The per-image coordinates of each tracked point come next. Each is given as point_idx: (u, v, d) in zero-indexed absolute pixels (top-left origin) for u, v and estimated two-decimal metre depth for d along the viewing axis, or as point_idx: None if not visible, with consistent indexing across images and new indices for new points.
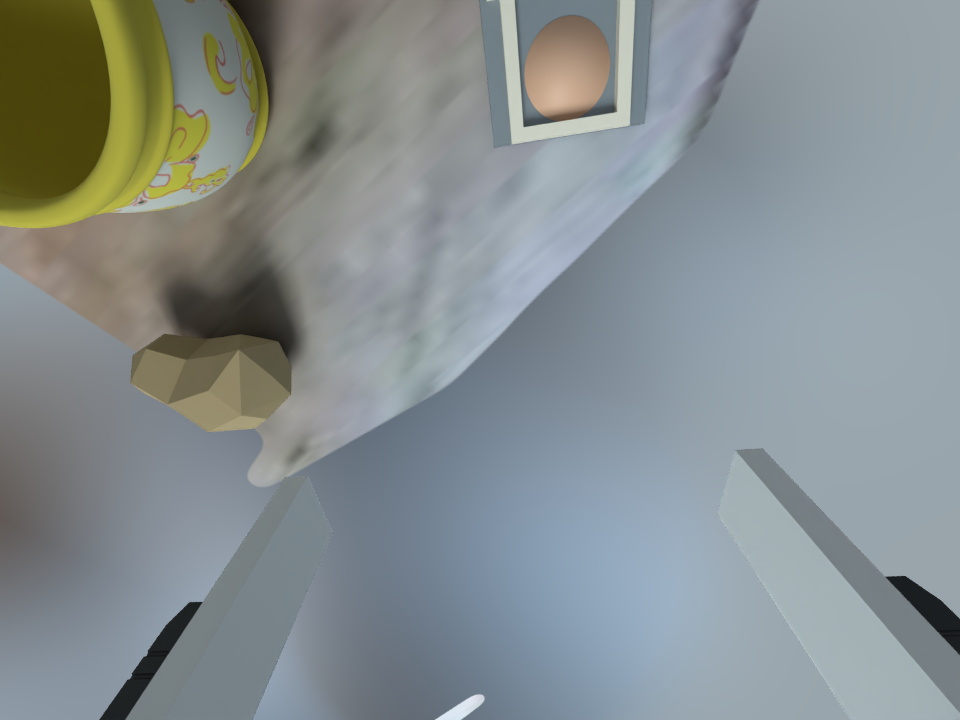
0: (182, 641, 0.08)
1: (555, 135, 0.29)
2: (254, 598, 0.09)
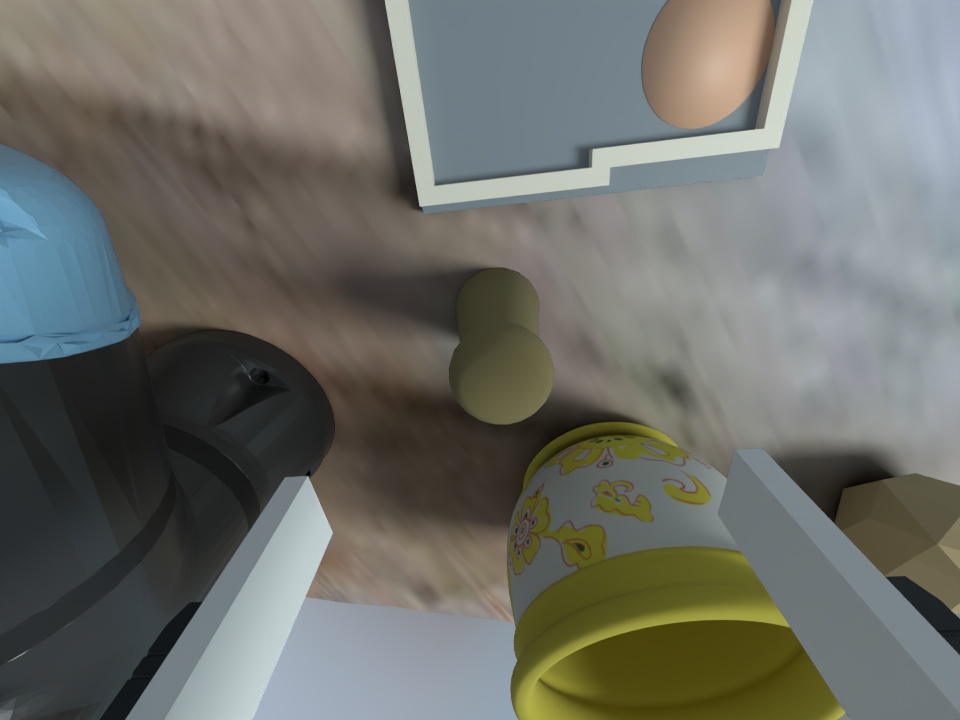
0: (182, 641, 0.08)
1: (795, 68, 0.18)
2: (254, 598, 0.09)
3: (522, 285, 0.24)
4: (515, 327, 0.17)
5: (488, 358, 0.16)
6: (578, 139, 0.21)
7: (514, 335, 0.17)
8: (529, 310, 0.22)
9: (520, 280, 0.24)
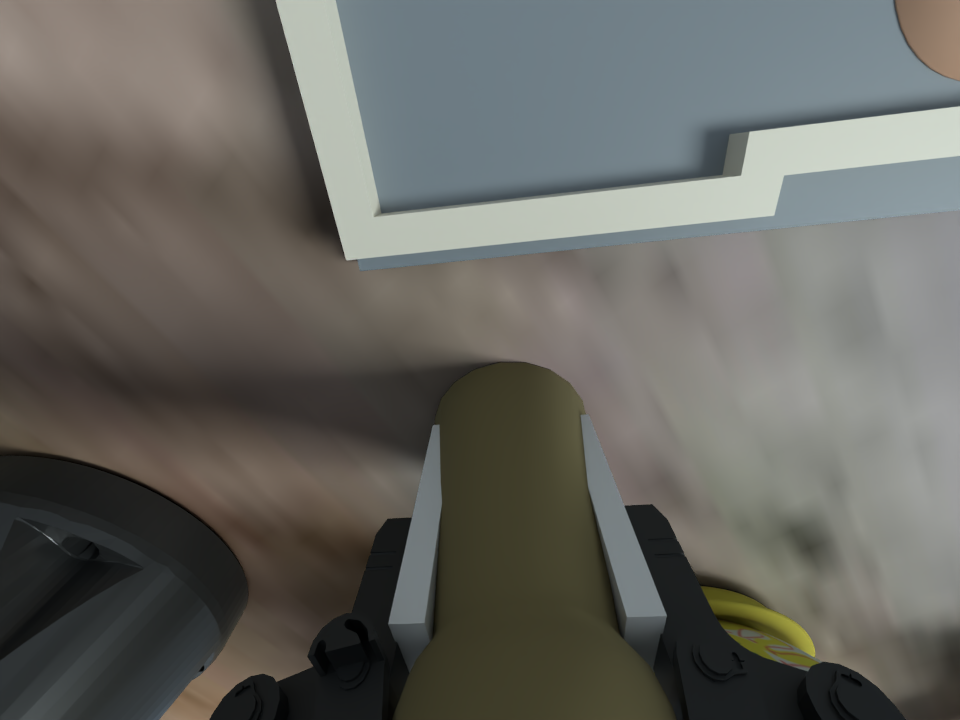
0: (411, 538, 0.09)
1: None
2: None
3: (562, 406, 0.12)
4: (584, 686, 0.05)
5: None
6: (708, 109, 0.09)
7: None
8: (586, 488, 0.10)
9: (557, 393, 0.13)
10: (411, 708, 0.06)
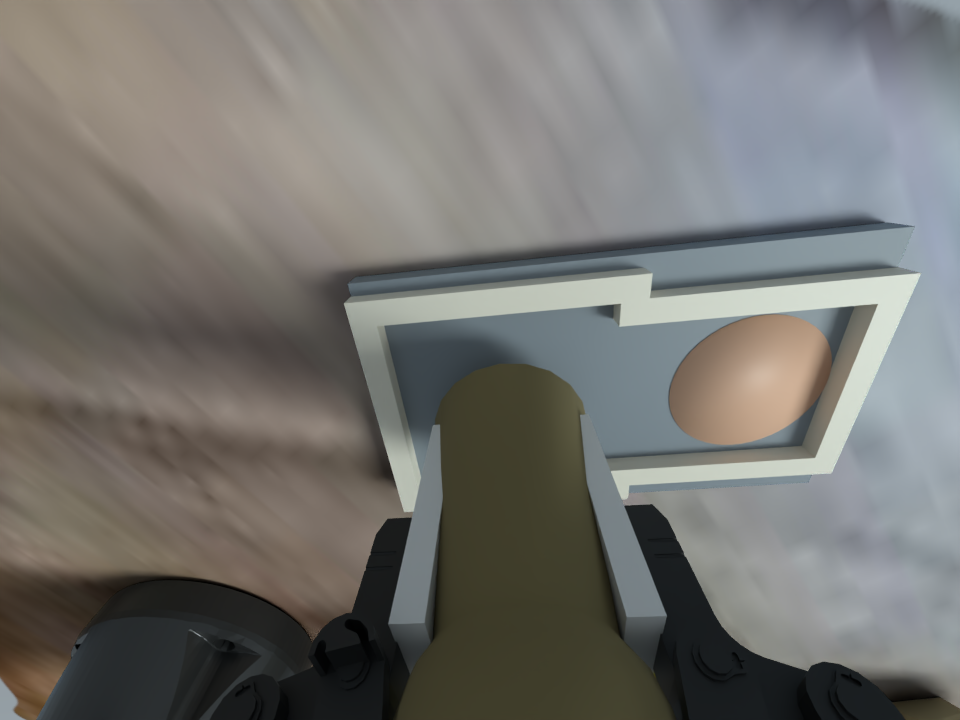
0: (411, 538, 0.09)
1: (856, 411, 0.15)
2: None
3: (562, 408, 0.12)
4: (586, 689, 0.05)
5: None
6: None
7: None
8: (586, 490, 0.10)
9: (557, 395, 0.13)
10: (412, 710, 0.06)
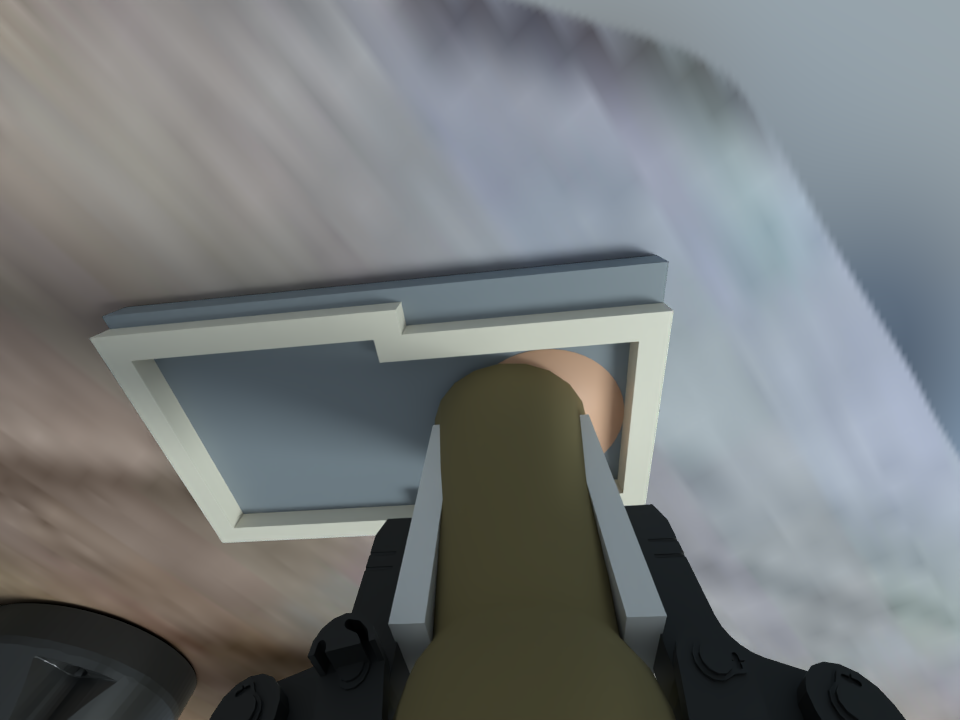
0: (411, 538, 0.09)
1: (650, 447, 0.15)
2: None
3: (562, 408, 0.12)
4: (585, 687, 0.05)
5: None
6: (404, 482, 0.17)
7: None
8: (585, 489, 0.10)
9: (557, 395, 0.13)
10: (411, 710, 0.06)
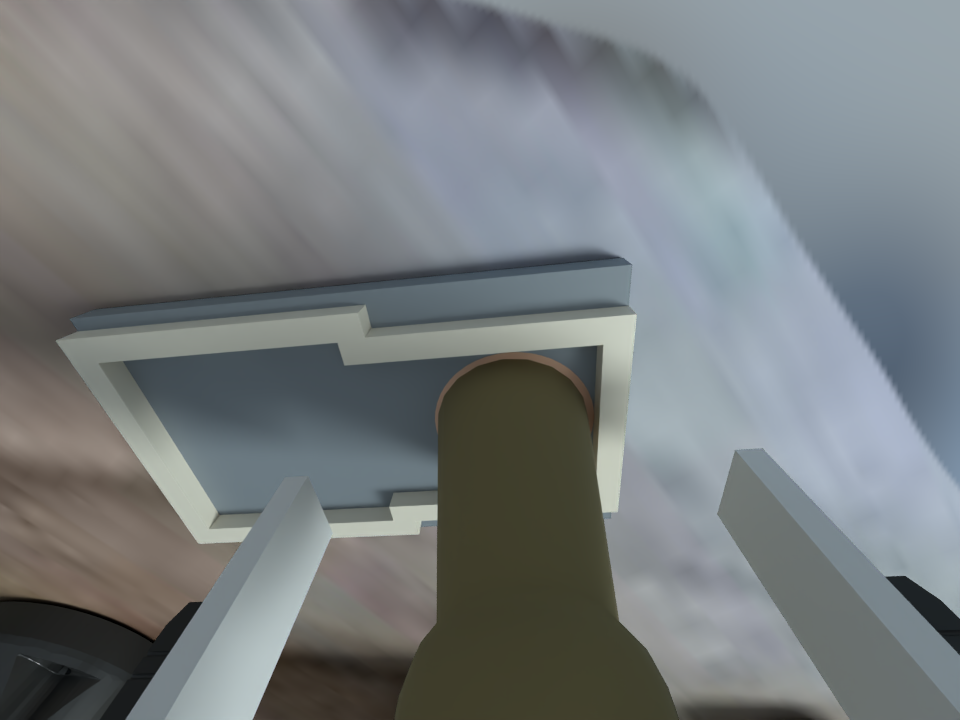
0: (182, 641, 0.08)
1: (620, 451, 0.15)
2: (254, 598, 0.09)
3: (563, 402, 0.12)
4: (583, 664, 0.06)
5: None
6: (378, 484, 0.17)
7: None
8: (586, 481, 0.10)
9: (558, 389, 0.13)
10: (417, 686, 0.06)
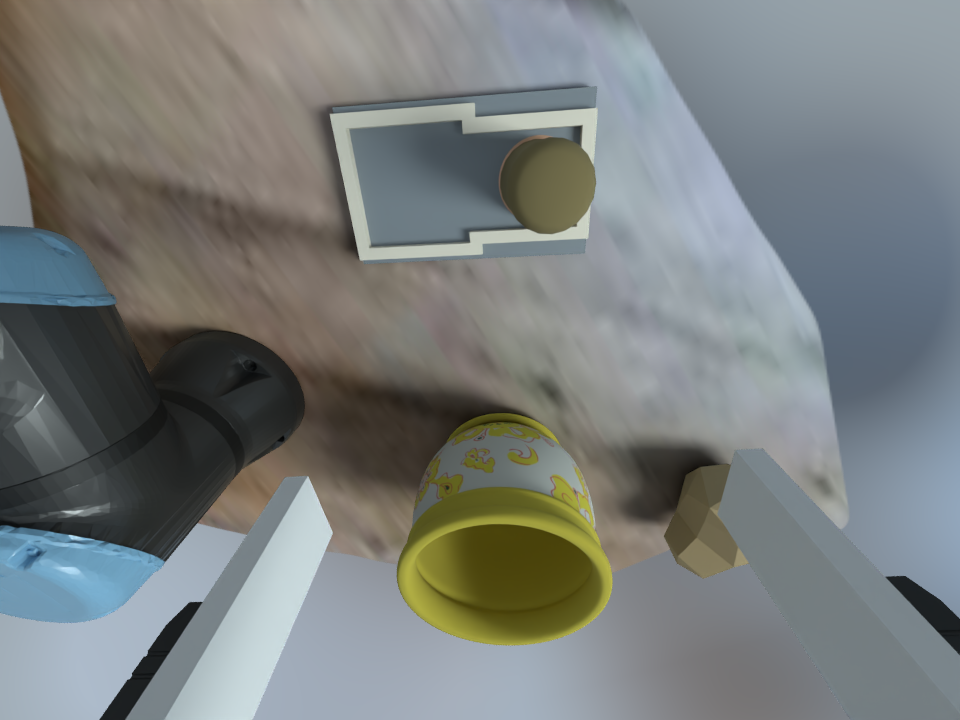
0: (182, 641, 0.08)
1: None
2: (254, 597, 0.09)
3: None
4: (566, 139, 0.21)
5: (545, 155, 0.20)
6: (462, 224, 0.32)
7: (567, 140, 0.20)
8: None
9: None
10: (517, 157, 0.21)
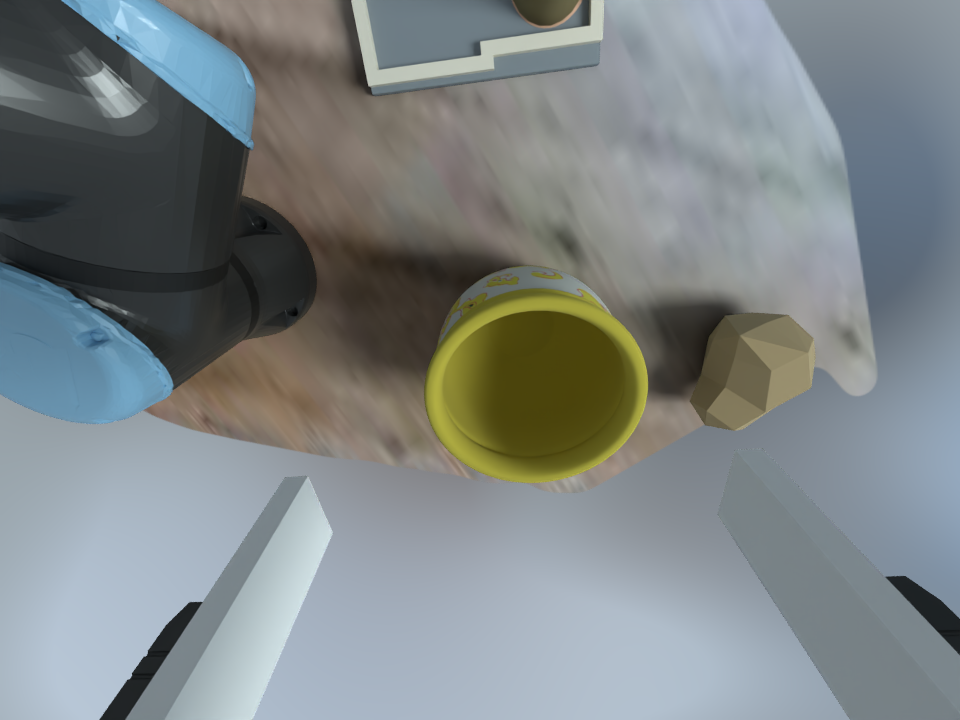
0: (182, 641, 0.08)
1: None
2: (254, 598, 0.09)
3: None
4: None
5: None
6: (472, 36, 0.31)
7: None
8: None
9: None
10: None
